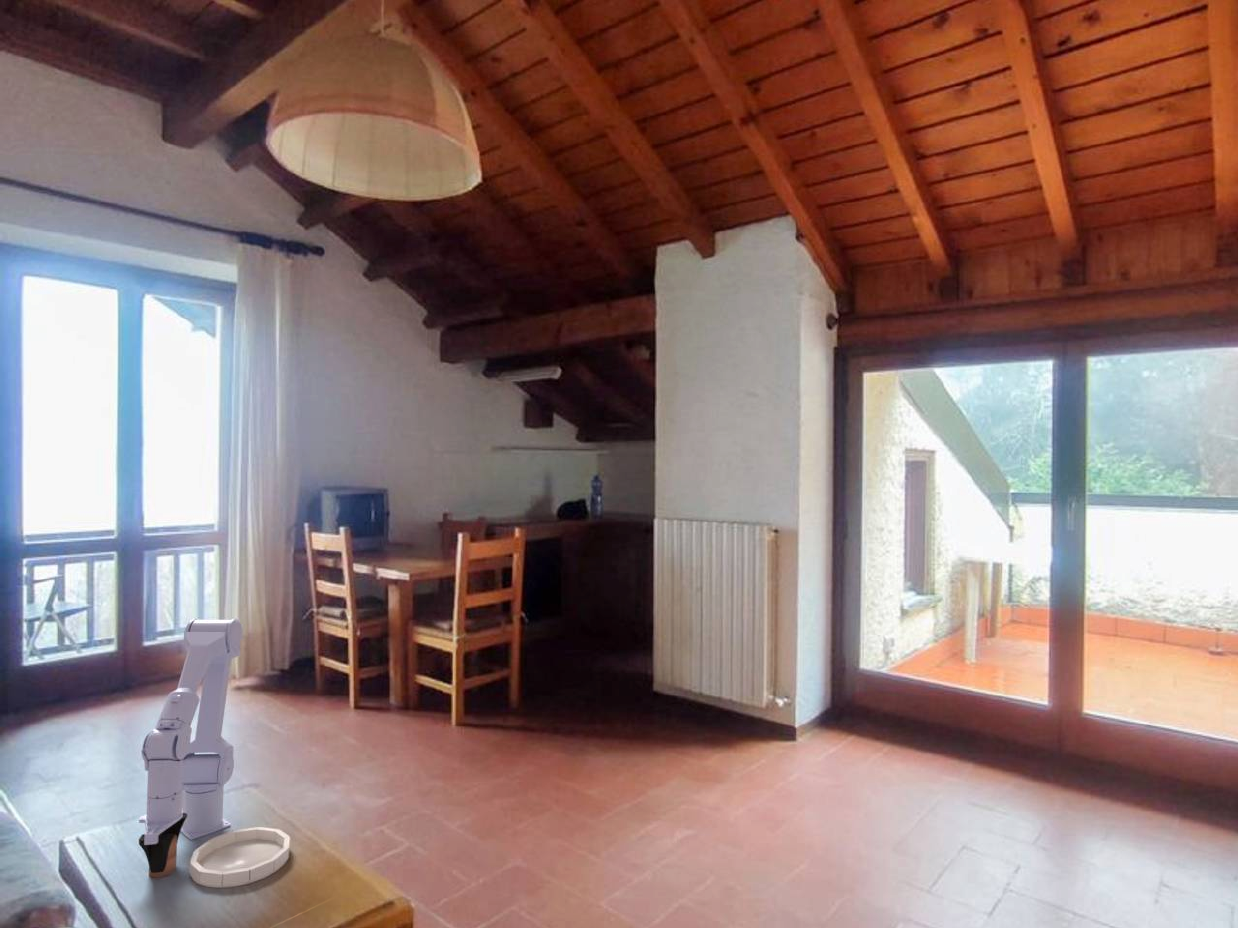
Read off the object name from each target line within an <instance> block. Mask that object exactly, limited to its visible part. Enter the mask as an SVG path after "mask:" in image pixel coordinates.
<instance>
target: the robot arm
mask: <svg viewBox="0 0 1238 928" xmlns="http://www.w3.org/2000/svg"><path fill="white" fill-rule="evenodd" d="M242 638H243V628H242V625H241V622H240V621H239V620H238V619H237V618H234V619H197V618H191V620H189V622H188V623H187V624H186V626H185V628H184V633H183V643H184V649H185V652H186V656H185V660H184V664H183V667H182V669H181V674H180V676H179V681H178V685H177V687H176V689H175V690H173V691H171V692H170V693H169V694H168V695H167V698H166V700H165V703H164V705H163V707H162V710H161V713H160V714H159V717H158V720H157V722H156V726H155V728H154V729H153V730H152V731H149V732H148V733H147V734H146V736H145V738H144V740H143V744H142V749H141V758H142V759H143V762H144V771H146V772H147V786H146V787H147V793H146V814H143V815H141V816H140V817H139V819H138V822H139V823H140V824H144V826H145V833H144V834H141V835H140V837H139V838H138V845H139V847H141V849H142V850H143V852H144V854H145V857H146V860H147V863H148V868H149V867H150V871H151V873H157V872H163V871H164V870H165V867H166V863H167V858H168V852H169V848H170V845H171V842H172V840H173V838H174V836H175V835H176V836H177V843H178V841H179V837H180V834H181V833H182V834H183V835H184V836H185V837H186V838H188V839H189V840H192V841H193V840H195V839H198V838H201V837H204V836H207V835H209V834H212V833H215V832H218V831H221V830H224V829H227V828H229V827H231V823H230V822H229V821H227V820H226V819H224V818H223V817H224V816H223V815H224V786H225V785H226V784H227V783H228V782H229V781H230V779H231V778H232V775H233V772H234V768H235V767H234V766H235V759H234V746H233V745H232V744H231V743H229V742H228V741H227V740H226V739H225V738H224V737H222V732H223V725H224V718H225V717H224V716H225V709H226V702H227V695H228V694H227V693H228V687H229V686H228V685H229V678H230V671H231V665H232V660H233V659H234V658H238V657H239V656H240V650H241V645H242V640H243V639H242ZM202 681H203V682H202ZM201 683H202V687H201V688H202V689H201V694H200V697H199V696H198V693H197V692H198V690H199V687H200V685H201ZM198 706H199V708H198ZM197 708H198V709H199V710H198V716H197V723H196V731H195V737H194V740H192V741H191V736H192V731H193V729H192V727H191V725H192V722H193V719H194V717H195V715H196V713H197V712H196V711H197Z"/></svg>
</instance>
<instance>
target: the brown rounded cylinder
mask: <svg viewBox="0 0 1238 928" xmlns="http://www.w3.org/2000/svg"><path fill="white" fill-rule="evenodd" d="M177 846H178V842H177V836H176V835H175V836H174V838H173V840H172V842H171V845H170V848H169V852H168V858H167V863H166V867H165V870H164V871H163V872H157V873H151V871H150V867H149V866H148V876H149V877H150V878H153V879H155V878H156V879H158V878H163V877H168V876H170V875H171V874H173V873H174V872H175V871H176V869H177V856H178V855H177V850H178V848H177Z"/></svg>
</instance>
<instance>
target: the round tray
mask: <svg viewBox="0 0 1238 928" xmlns="http://www.w3.org/2000/svg"><path fill="white" fill-rule="evenodd" d="M290 848H291V837H290V835H288V834H287V833H286V832H284V831H282V830H281V829H280V828H271V827H263V826H259V827H258V826H255V827H249V828H241V829H234V830H232V831H229V832H225V833H223V834H221V835H217V836H215V837H211V838H210V839H208V840H207V841H206V842H204V843H202V844H201V845H200V846H199V847H197V848H196V849H194V850H193V851H192V855H191V857H190V861H189V870H188V871H189V873H188V874H189V875H190V877H191V879H192V881H194V882H195V883H196V884H198V885H199V886H203V887H206V888H214V889H217V888H218V889H222V888H223V889H224V888H225V889H227V888H235V887H241V886H245V885H248V884H251V883H255V882H258V881H261V880H264V879H265V878H268V877H269V876H271V875H273V874H275V873H276V872H278V871H279V870H280V869H281V868H283V866H284V865H285V864H286V863H287V862H288V860H289V857H290Z"/></svg>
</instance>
